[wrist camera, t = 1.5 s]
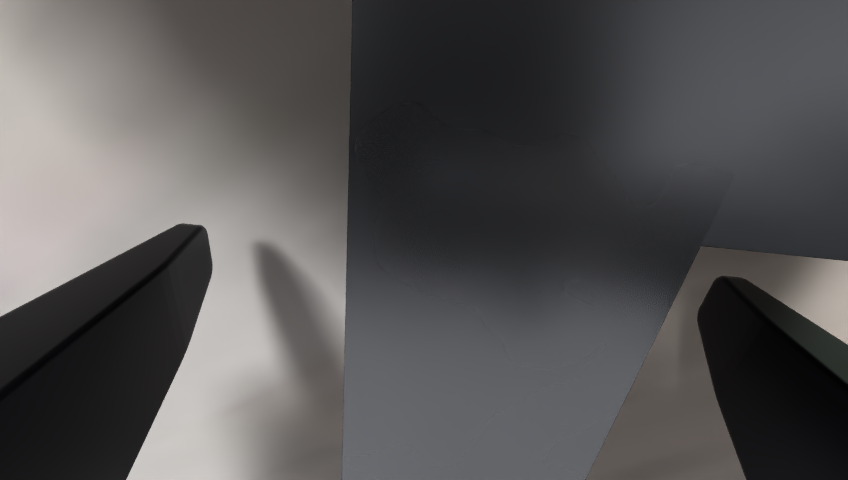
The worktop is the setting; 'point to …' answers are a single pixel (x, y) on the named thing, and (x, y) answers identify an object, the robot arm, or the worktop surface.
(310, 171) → the worktop surface
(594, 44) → the bracket
